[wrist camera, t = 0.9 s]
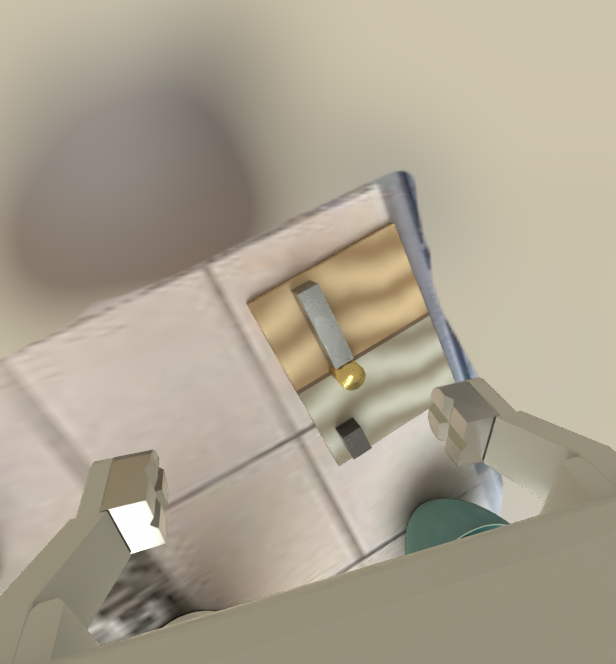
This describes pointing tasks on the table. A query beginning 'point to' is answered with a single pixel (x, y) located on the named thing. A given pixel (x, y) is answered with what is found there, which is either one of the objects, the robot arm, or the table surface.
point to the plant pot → (447, 523)
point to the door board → (360, 340)
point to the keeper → (353, 438)
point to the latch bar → (329, 335)
